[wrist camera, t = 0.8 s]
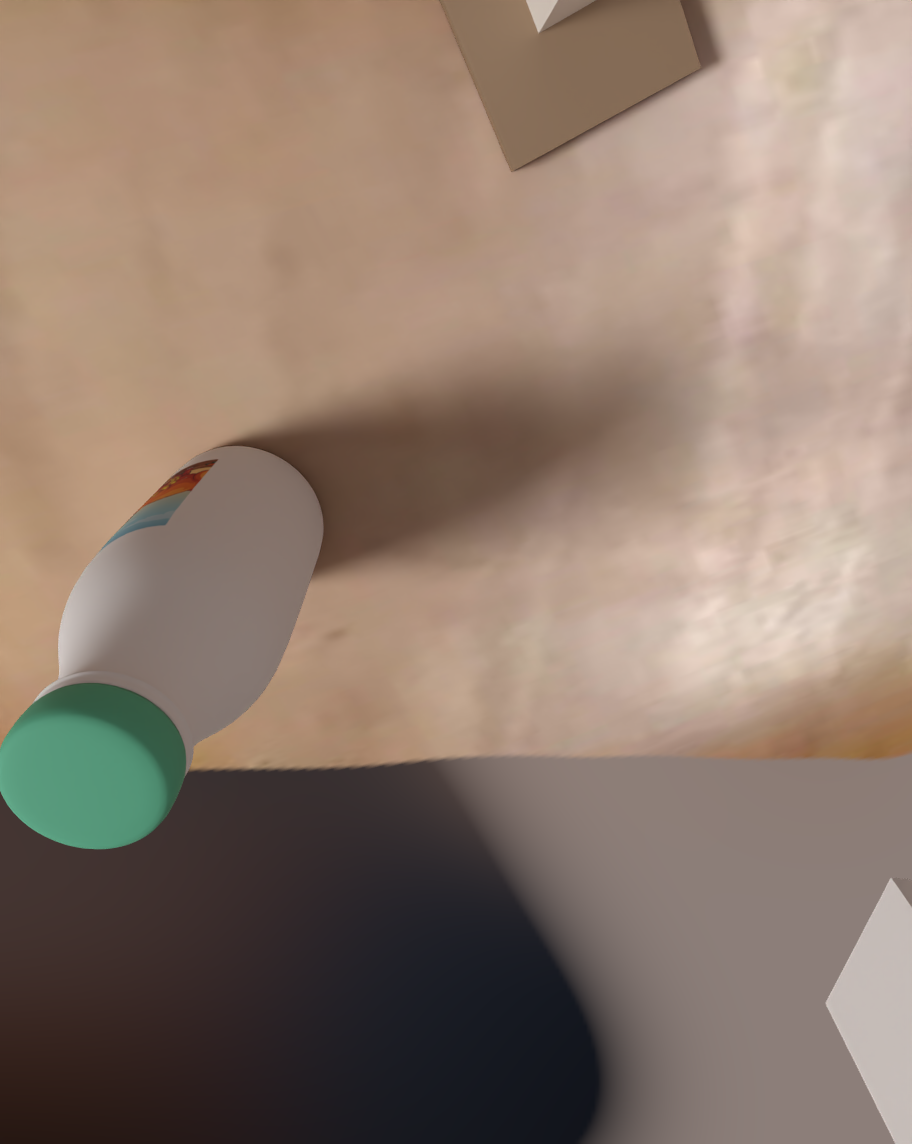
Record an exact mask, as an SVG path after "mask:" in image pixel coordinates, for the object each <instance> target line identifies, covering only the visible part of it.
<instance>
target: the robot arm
mask: <svg viewBox="0 0 912 1144" xmlns="http://www.w3.org/2000/svg"><path fill="white" fill-rule="evenodd" d="M826 1006H827V1008H828V1009H829V1012H830V1014H831V1016H832V1018H833V1020H834V1022H835V1024H836V1026H837V1028H838V1030H839V1032H840V1034H841V1036H842V1038H843V1039H844V1042H845V1044H846V1046H847V1048H848V1050H849V1052H850V1054H851V1056H852V1058H853V1060H854V1062H855V1064H856V1066H857V1068H858V1070H859V1072H860V1074H861V1076H862V1078H863V1080H864V1082H865V1084H866V1086H867V1088H868V1090H869V1092H870V1094H871V1096H872V1098H873V1100H874V1102H875V1104H876V1106H877V1108H878V1110H879V1112H880V1114H881V1116H882V1118H883V1120H884V1122H885V1124H886V1126H887V1128H888V1130H889V1132H890V1134H891V1136H892V1138H893V1140H894V1142H895V1144H912V880H908V879H900V878H891V879H890V881H889V882H888V884H887V886H886V888H885V890H884V892H883V894H882V896H881V898H880V900H879V902H878V904H877V906H876V907H875V909H874V911H873V913H872V915H871V917H870V919H869V921H868V923H867V925H866V927H865V928H864V930H863V932H862V934H861V936H860V938H859V940H858V942H857V944H856V946H855V948H854V950H853V951H852V954H851V955H850V958H849V959H848V961H847V963H846V965H845V967H844V969H843V971H842V973H841V974H840V976H839V978H838V980H837V982H836V984H835V986H834V988H833V990H832V992H831V994H830V995H829V997H828V999H827V1001H826Z"/></svg>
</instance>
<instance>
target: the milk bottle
mask: <svg viewBox="0 0 912 1144" xmlns="http://www.w3.org/2000/svg"><path fill="white" fill-rule="evenodd" d="M323 531H324V523H323V515H322V511H321V507H320V504H319V501H318V499H317V497H316V494H315V493H314V491H313V489H312V487H311V486H310V484H309V483H308V482H307V480H306V479H305V478H304V477H303V476H302V475H301V474H300V473H299V472H298V471H297V470H296V469H295V468H294V467H293V466H291V465H290V464H289V463H287V462H286V461H284V460H283V459H281V458H279V457H278V456H276V455H273V454H271V453H269V452H266V451H263V450H260V449H256V448H252V447H245V446H226V447H219V448H215V449H212V450H209V451H206V452H204V453H201V454H199V455H197V456H196V457H194V458H193V459H191V460H190V461H188V462H187V463H186V464H185V465H184V466H182V467H181V468H180V469H179V470H178V471H177V472H176V473H175V474H174V475H173V476H172V477H171V478H170V479H169V480H168V481H167V482H166V483H165V484H164V485H163V486H162V487H161V488H160V489H159V490H158V491H157V492H156V493H155V494H154V495H153V496H152V497H151V498H150V499H149V500H148V501H147V502H146V503H145V504H144V505H143V506H142V507H141V508H140V509H139V510H138V511H137V512H136V513H135V514H134V515H133V516H132V517H131V518H130V519H129V520H128V521H127V522H126V523H125V524H124V525H123V526H122V527H121V528H120V529H119V530H118V531H117V533H116V534H115V535H114V536H113V537H112V538H111V539H110V540H109V541H108V542H107V543H106V544H105V546H104V547H103V548H102V549H101V550H100V551H99V553H98V554H97V555H96V556H95V557H94V559H93V560H92V561H91V562H90V563H89V565H88V566H87V567H86V568H85V570H84V571H83V573H82V575H81V576H80V578H79V579H78V581H77V583H76V584H75V586H74V588H73V590H72V592H71V594H70V596H69V599H68V601H67V604H66V606H65V609H64V613H63V616H62V621H61V626H60V631H59V643H58V654H59V678H58V680H56V681H55V682H53V683H51V684H50V685H49V686H47V687H46V688H45V689H44V690H43V691H42V692H41V693H40V694H39V695H38V696H37V697H36V699H35V701H34V702H33V704H32V705H31V706H30V707H29V708H28V709H27V710H26V711H25V712H24V713H23V714H22V715H21V717H20V718H19V719H18V720H17V721H16V723H15V724H14V726H13V727H12V728H11V730H10V731H9V733H8V734H7V736H6V737H5V739H4V741H3V743H2V745H1V748H0V791H1V794H2V796H3V798H4V799H5V801H6V803H7V804H8V806H9V807H10V808H11V810H12V811H13V812H14V813H15V814H16V815H17V817H19V818H20V819H21V820H22V821H23V822H24V823H25V824H27V825H28V826H29V827H31V828H32V829H33V830H35V831H36V832H38V833H40V834H42V835H43V836H45V837H48V838H50V839H52V840H55V841H57V842H60V843H63V844H66V845H70V846H74V847H80V848H87V849H109V848H116V847H121V846H125V845H128V844H131V843H133V842H136V841H138V840H140V839H142V838H144V837H145V836H147V835H148V834H149V833H150V832H152V831H153V830H154V829H155V828H156V827H157V826H158V825H159V824H160V823H161V822H162V821H163V820H164V819H165V817H166V816H167V815H168V813H169V811H170V809H171V807H172V805H173V804H174V802H175V800H176V798H177V796H178V793H179V791H180V788H181V786H182V783H183V780H184V777H185V775H186V774H187V772H188V770H189V768H190V765H191V762H192V758H193V747H194V746H195V745H196V744H197V743H198V742H200V741H202V740H203V739H205V738H207V737H209V736H211V735H213V734H215V733H217V732H218V731H220V730H222V729H223V728H225V727H226V726H228V725H229V724H231V723H232V722H234V721H235V720H236V719H237V718H238V717H240V716H241V715H242V714H243V713H244V712H246V711H247V710H248V709H249V708H250V707H251V706H252V704H253V703H254V702H255V701H256V700H257V699H258V698H259V696H260V695H261V694H262V693H263V691H264V690H265V688H266V687H267V685H268V684H269V682H270V680H271V679H272V677H273V675H274V674H275V672H276V670H277V668H278V666H279V664H280V661H281V659H282V657H283V654H284V652H285V650H286V647H287V645H288V643H289V640H290V637H291V634H292V632H293V629H294V626H295V623H296V620H297V618H298V615H299V612H300V609H301V606H302V604H303V601H304V598H305V595H306V592H307V589H308V586H309V583H310V580H311V577H312V574H313V571H314V568H315V565H316V562H317V559H318V556H319V552H320V548H321V544H322V540H323Z"/></svg>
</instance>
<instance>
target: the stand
mask: <svg viewBox="0 0 912 1144" xmlns="http://www.w3.org/2000/svg"><path fill="white" fill-rule="evenodd" d="M440 3H441V5H442V8H443V10H444V12H445V15H446V17H447V20H448V22H449V24H450V27H451V29H452V31H453V34H454V36H455V39H456V41H457V43H458V46H459V48H460V51H461V53H462V55H463V58H464V60H465V63H466V65H467V67H468V70H469V72H470V75H471V77H472V79H473V82H474V84H475V86H476V89H477V91H478V94H479V96H480V98H481V101H482V103H483V106H484V108H485V110H486V113H487V115H488V118H489V120H490V122H491V125H492V127H493V130H494V132H495V134H496V137H497V139H498V141H499V144H500V146H501V149H502V151H503V153H504V156H505V158H506V161H507V163H508V165H509V168H510V170H511V172H512V171H514V170H516V169H518V168H520V167H522V166H523V165H525V164H527V163H529V162H531V161H532V160H534V159H536V158H538V157H540V156H542V155H543V154H545V153H547V152H549V151H551V150H553V149H554V148H556V147H558V146H560V145H562V144H563V143H565V142H567V141H569V140H571V139H573V138H574V137H576V136H578V135H580V134H582V133H583V132H585V131H587V130H589V129H591V128H593V127H594V126H596V125H598V124H600V123H602V122H603V121H605V120H607V119H609V118H611V117H613V116H614V115H616V114H618V113H620V112H622V111H623V110H625V109H627V108H629V107H631V106H633V105H634V104H636V103H638V102H640V101H642V100H644V99H645V98H647V97H649V96H651V95H653V94H654V93H656V92H658V91H660V90H662V89H664V88H665V87H667V86H669V85H671V84H673V83H674V82H676V81H678V80H680V79H682V78H684V77H685V76H687V75H689V74H691V73H693V72H694V71H696V70H698V69H700V68H701V66H700V62H699V59H698V56H697V53H696V50H695V46H694V43H693V40H692V37H691V33H690V30H689V27H688V24H687V21H686V17H685V14H684V11H683V8H682V5H681V1H680V0H440Z"/></svg>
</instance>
